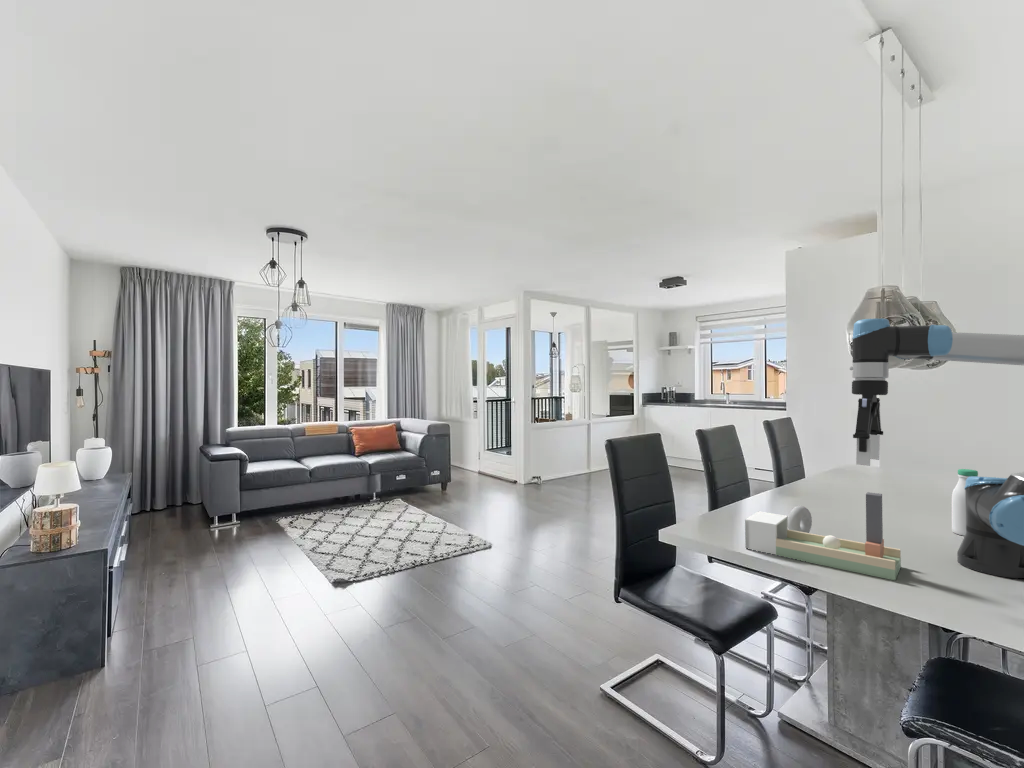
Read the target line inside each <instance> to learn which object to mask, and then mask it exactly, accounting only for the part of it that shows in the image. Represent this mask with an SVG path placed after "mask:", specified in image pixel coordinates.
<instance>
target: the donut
mask: <svg viewBox="0 0 1024 768" xmlns="http://www.w3.org/2000/svg"><path fill="white" fill-rule="evenodd" d="M812 523H813V517H812V513H811V511H810V510H809V509H808V508H807V507H806V506H803V505H796V506H794V507H793V508H792V509H791V510H790V512H789V513H788V530H794V531H799V532H805V533H810V531H811V530H812Z"/></svg>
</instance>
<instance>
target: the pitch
mask: <svg viewBox="0 0 1024 768" xmlns="http://www.w3.org/2000/svg"><path fill="white" fill-rule="evenodd" d="M788 517H789V515H785V514H784V515H783V514H778V513H773V512H765V511H760V510H759V511H757V512H754V513H753V514H751V515H750V516H748V517H747V518H745V519H744V522H745V523H744V530H745V532H744V534H745V536H744V537H745V539H744V540H745V543H744V546H745V547H744V549H745V548H749V549H753V550H757V551H756V552H758V551H761V552H760V553H762V552H766V553H765V554H767V553H771V554H770V555H772V554H776V555H775V556H777V555H780V556H779V557H781V556H784V557H783V558H786V557H789V558H788V559H791V558H793V559H792V560H795V559H797V561H800V560H801V562H805V561H806V563H811V564H815V565H820V566H824V567H830V568H832V569H833V568H834V569H839V570H844V571H848V572H852V573H853V572H854V573H858V574H864V575H867V576H872V577H878V578H882V579H886V580H889V581H891V580H892V581H896V579H897V577H898V574H899V572H900V569H901V568H902V565H901V563H902V560H901V559H902V558H901V557H902V555H901V548H895V547H889V546H885V545H884V556H883V558H879V557H874V556H869V555H865V543H866V542H862V541H857V540H850V539H844V538H838V537H837V538H838V539H839V541H840V544H841V545H840V548H839V549H838V550H837V549H831V548H826V547H824V545H823V539H824V538H825V537H826V536H827V535H821V534H817V533H816V534H815V533H810V532H809V533H805V532H799V531H794V530H789V529H788ZM753 550H752V551H753Z"/></svg>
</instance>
